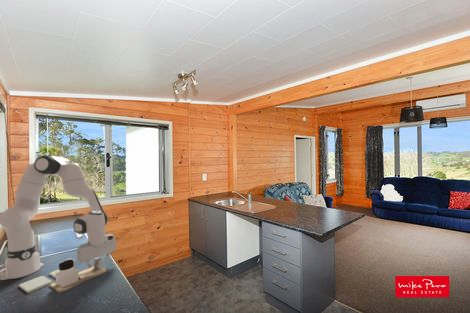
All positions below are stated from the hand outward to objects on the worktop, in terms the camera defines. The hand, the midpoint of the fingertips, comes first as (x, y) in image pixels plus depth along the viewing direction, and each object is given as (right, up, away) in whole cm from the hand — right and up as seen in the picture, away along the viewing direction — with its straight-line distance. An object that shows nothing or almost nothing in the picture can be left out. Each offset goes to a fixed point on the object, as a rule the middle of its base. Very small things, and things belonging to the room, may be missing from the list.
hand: (98, 263), depth 132 cm
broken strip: (-21, -5, -8) cm, 23 cm away
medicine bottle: (-8, -4, -14) cm, 16 cm away
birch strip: (-5, -4, -9) cm, 11 cm away
